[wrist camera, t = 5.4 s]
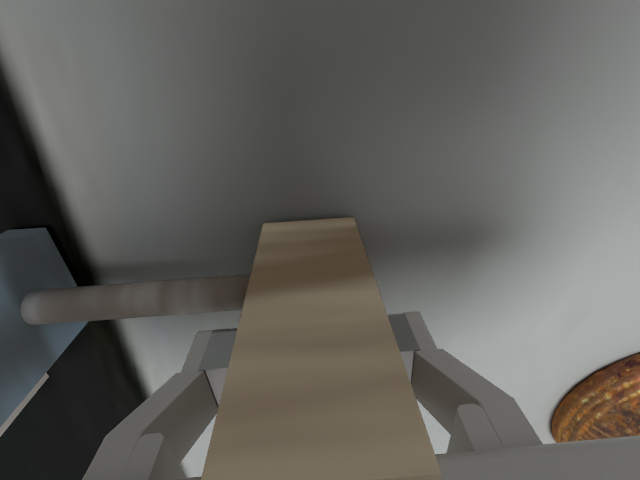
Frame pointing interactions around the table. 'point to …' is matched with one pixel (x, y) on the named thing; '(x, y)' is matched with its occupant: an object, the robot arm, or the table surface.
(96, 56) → the table surface
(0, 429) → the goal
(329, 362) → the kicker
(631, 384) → the bell
